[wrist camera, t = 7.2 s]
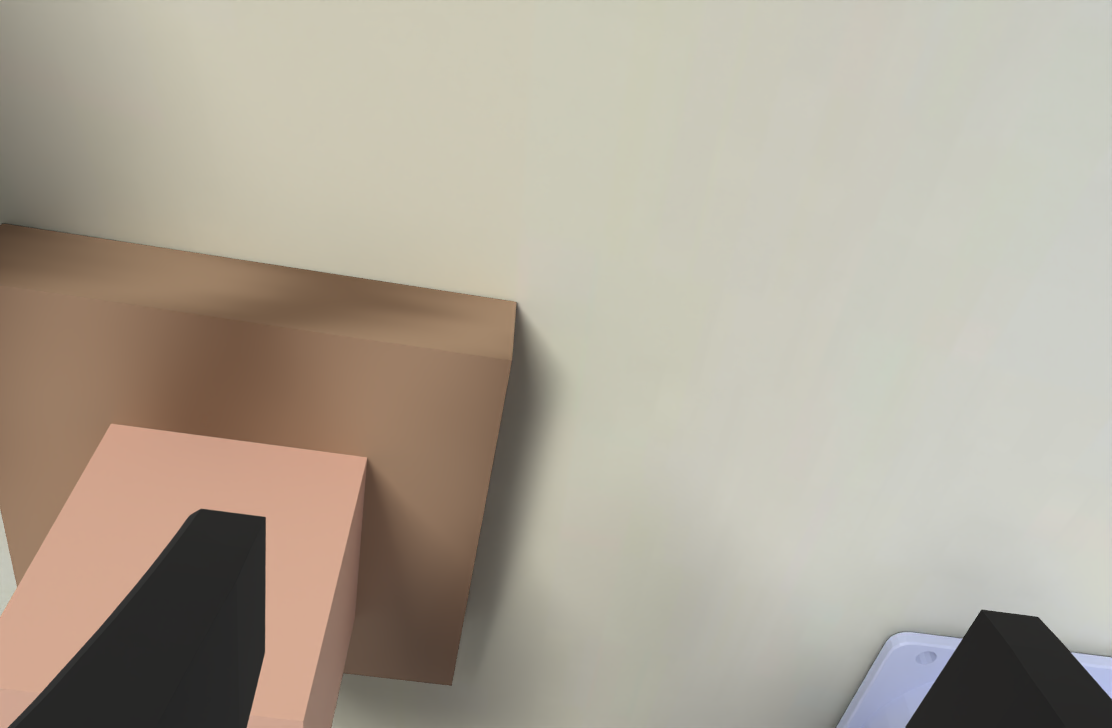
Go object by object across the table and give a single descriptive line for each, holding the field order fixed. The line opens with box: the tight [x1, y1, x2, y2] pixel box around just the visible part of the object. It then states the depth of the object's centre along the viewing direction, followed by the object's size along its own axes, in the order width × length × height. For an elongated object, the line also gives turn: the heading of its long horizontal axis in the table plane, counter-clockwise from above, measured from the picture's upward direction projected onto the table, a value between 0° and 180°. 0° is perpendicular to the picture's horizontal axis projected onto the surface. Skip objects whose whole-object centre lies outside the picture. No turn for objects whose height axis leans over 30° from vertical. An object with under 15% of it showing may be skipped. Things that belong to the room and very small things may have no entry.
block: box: [0, 424, 367, 728], centre depth 19 cm, size 5×5×6 cm
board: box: [0, 223, 516, 686], centre depth 22 cm, size 10×10×2 cm
